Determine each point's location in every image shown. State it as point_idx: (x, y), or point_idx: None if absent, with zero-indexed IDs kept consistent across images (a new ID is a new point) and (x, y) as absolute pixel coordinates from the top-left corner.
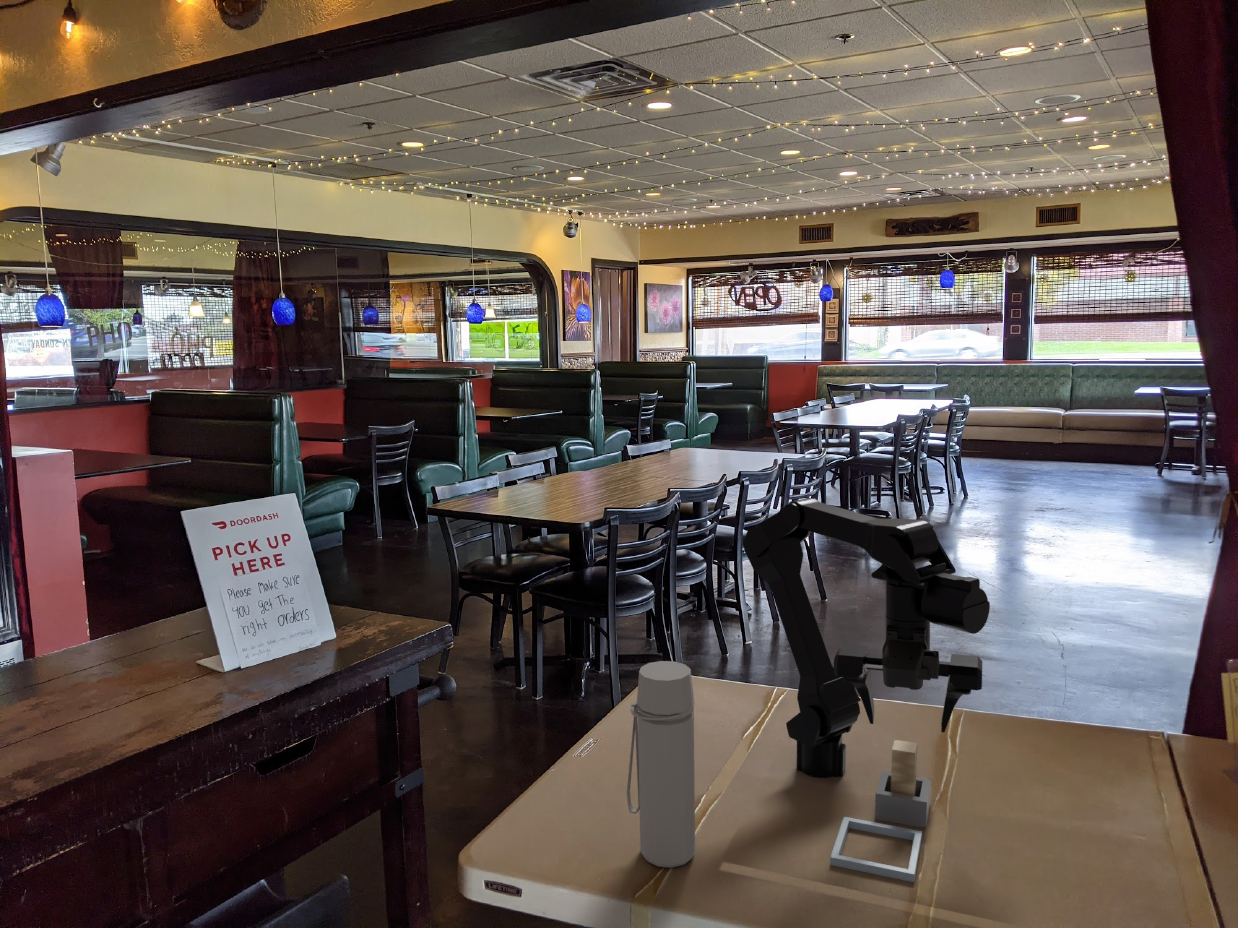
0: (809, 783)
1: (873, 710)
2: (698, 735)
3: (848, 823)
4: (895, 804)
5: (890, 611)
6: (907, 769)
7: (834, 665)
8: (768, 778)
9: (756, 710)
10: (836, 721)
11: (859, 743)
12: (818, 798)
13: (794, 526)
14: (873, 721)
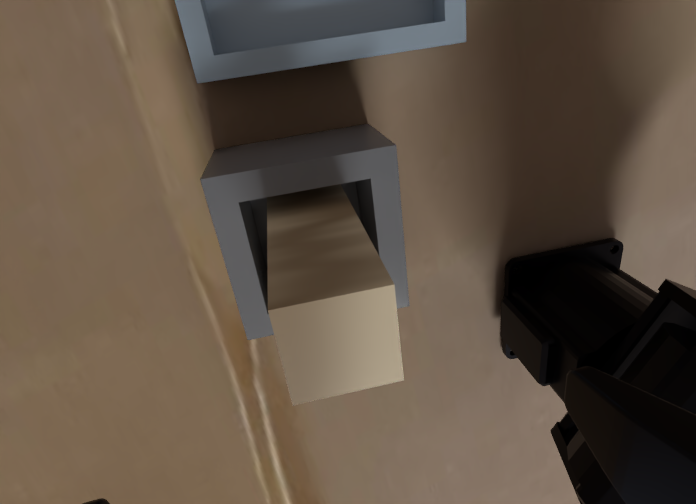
0: (573, 239)
1: (629, 464)
2: None
3: (443, 7)
4: (316, 149)
5: None
6: (300, 254)
7: None
8: (677, 206)
9: None
10: (678, 384)
11: (483, 455)
12: (542, 177)
13: None
14: (573, 390)
